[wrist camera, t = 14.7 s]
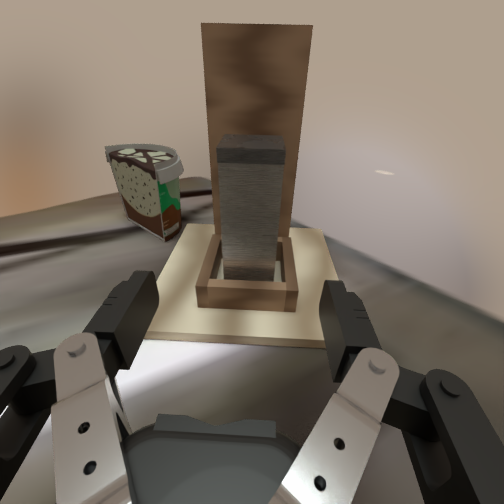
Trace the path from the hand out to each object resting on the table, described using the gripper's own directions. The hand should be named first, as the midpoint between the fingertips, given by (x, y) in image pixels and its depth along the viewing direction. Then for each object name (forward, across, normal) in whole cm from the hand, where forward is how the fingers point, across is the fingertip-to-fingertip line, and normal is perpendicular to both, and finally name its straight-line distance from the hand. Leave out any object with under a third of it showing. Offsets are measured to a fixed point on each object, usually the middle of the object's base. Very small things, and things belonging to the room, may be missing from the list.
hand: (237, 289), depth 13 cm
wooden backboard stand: (+13, 0, +10) cm, 16 cm away
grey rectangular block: (+11, 0, +9) cm, 14 cm away
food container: (+24, +13, +10) cm, 29 cm away
